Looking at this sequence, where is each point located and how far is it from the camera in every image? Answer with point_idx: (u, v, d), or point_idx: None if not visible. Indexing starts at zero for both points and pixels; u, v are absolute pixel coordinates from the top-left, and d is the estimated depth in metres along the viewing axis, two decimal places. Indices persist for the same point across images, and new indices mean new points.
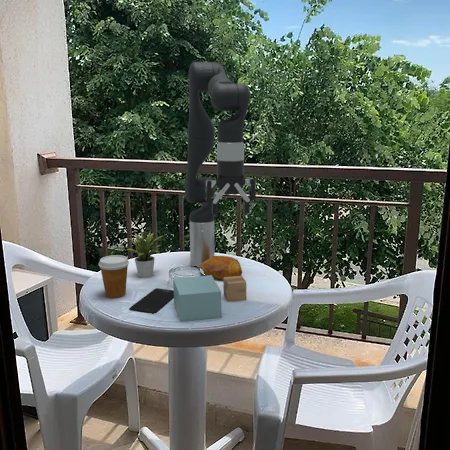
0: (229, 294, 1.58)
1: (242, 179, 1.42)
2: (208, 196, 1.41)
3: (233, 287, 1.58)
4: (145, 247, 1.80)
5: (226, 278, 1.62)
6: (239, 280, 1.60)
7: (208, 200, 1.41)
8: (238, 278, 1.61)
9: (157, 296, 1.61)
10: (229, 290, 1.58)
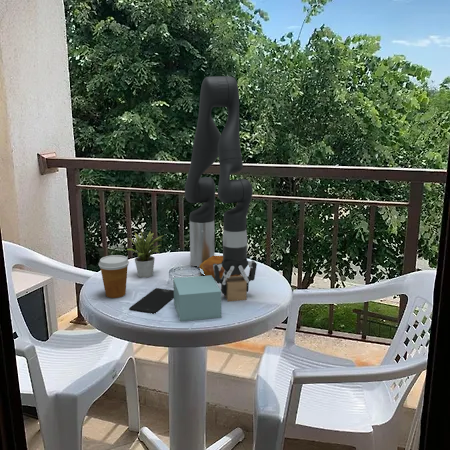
0: (229, 294, 1.58)
1: (246, 261, 1.59)
2: (217, 279, 1.58)
3: (233, 287, 1.58)
4: (145, 247, 1.80)
5: None
6: (239, 279, 1.60)
7: (218, 282, 1.58)
8: (239, 278, 1.61)
9: (157, 296, 1.61)
10: (229, 290, 1.58)
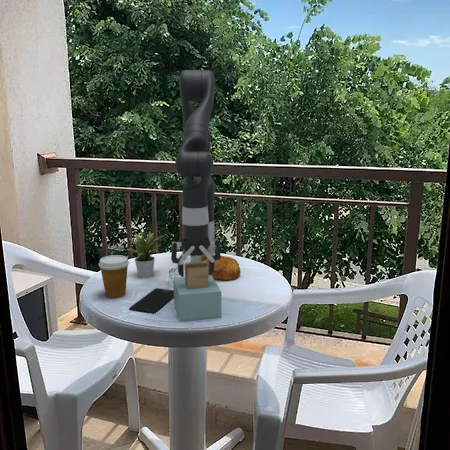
0: (189, 281, 1.47)
1: (207, 241, 1.47)
2: (174, 258, 1.46)
3: (194, 273, 1.46)
4: (145, 247, 1.80)
5: (187, 263, 1.51)
6: (201, 265, 1.49)
7: (174, 262, 1.46)
8: (201, 264, 1.50)
9: (157, 296, 1.61)
10: (189, 276, 1.46)
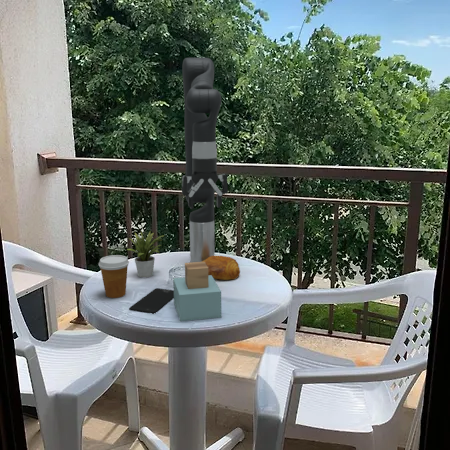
0: (189, 281, 1.47)
1: (215, 175, 1.57)
2: (184, 190, 1.56)
3: (194, 273, 1.46)
4: (145, 247, 1.80)
5: (187, 263, 1.51)
6: (201, 265, 1.49)
7: (184, 194, 1.56)
8: (201, 264, 1.50)
9: (157, 296, 1.61)
10: (189, 276, 1.46)
